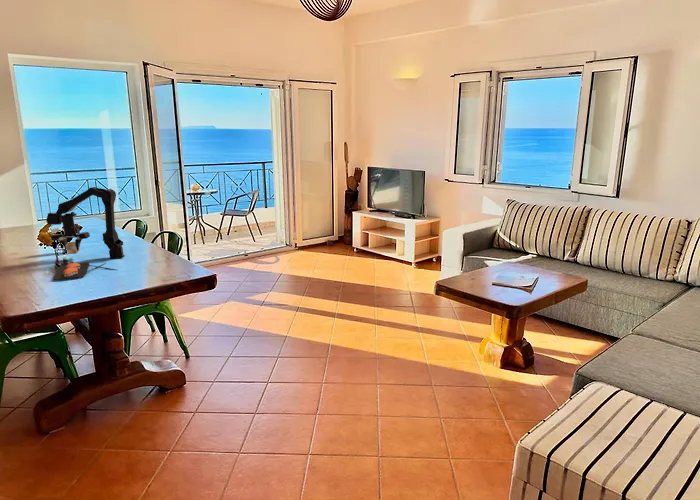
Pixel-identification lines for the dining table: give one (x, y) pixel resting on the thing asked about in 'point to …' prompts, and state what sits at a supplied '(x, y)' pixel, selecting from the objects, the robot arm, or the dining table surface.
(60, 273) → the sushi plate
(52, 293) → the dining table surface
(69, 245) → the birch block
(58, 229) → the beer glass
